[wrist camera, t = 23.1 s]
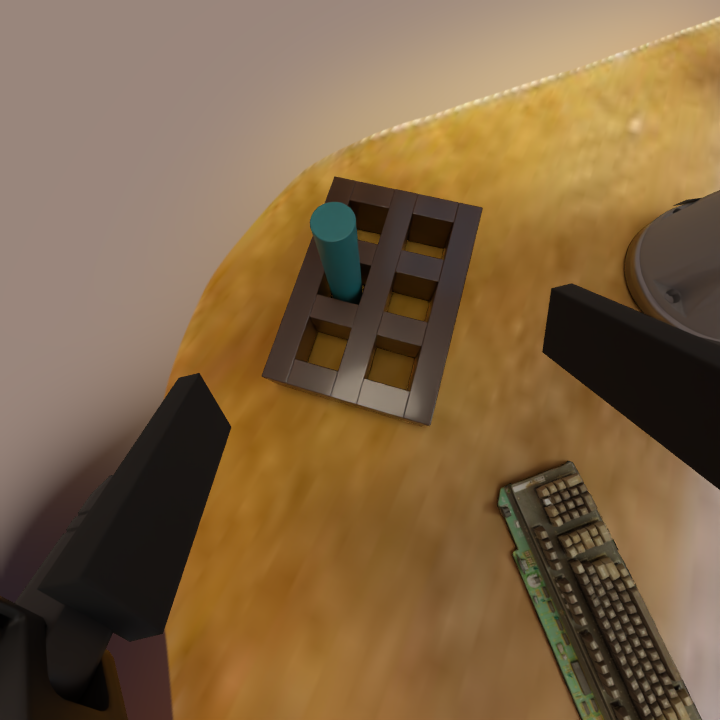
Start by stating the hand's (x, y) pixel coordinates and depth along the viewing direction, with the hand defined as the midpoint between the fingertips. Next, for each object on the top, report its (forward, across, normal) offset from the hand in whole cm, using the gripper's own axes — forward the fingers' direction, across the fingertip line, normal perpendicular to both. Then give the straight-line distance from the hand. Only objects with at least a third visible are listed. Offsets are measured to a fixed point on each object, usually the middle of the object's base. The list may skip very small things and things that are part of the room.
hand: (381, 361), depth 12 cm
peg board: (+21, -2, +7) cm, 23 cm away
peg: (+22, 0, +6) cm, 23 cm away
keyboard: (0, -14, +29) cm, 32 cm away
